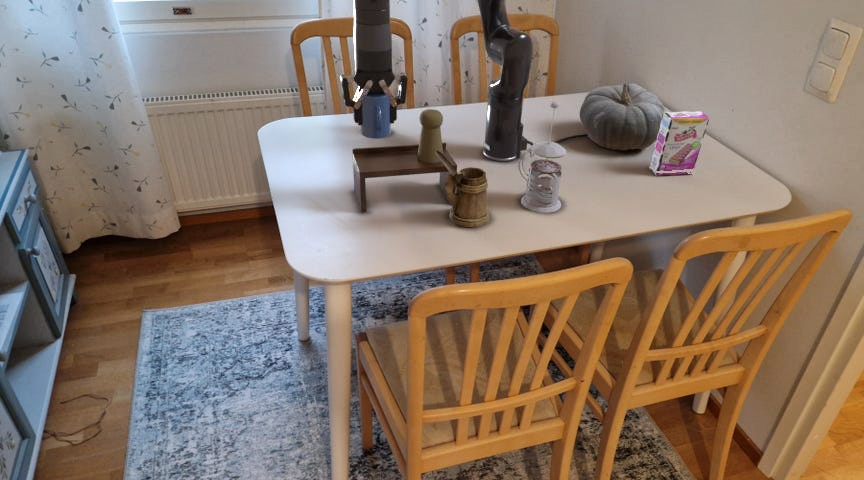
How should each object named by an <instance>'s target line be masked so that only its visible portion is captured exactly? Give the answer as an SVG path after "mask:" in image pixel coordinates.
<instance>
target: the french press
mask: <svg viewBox="0 0 864 480" xmlns="http://www.w3.org/2000/svg"><path fill="white" fill-rule="evenodd" d="M559 105H560V103H559V102H558V101H551V102H550V105H549V107H550V108H552V117H551V125H550V132H549V140H547V141H545V140H542V141H539V142H536V143H533V145H532V146H531V145H530V149H528V150H526V151H525V152H523V153H522V154H521V155H520V158H518V159H519V160H518V171H519V173H520V175H521V177H522V178H523V179H524V180H525V181H526V187H525V195H523V196H522V197H521V199H520V203H521V205H522V206H523V207H524V208H525V209H528V210H529V211H532V212H536V213H544V214H545V213H546V214H547V213H548V214H549V213H553V212H556V211H558V210H560V209H561V208H562V202H561V201H560V199H559V193H560V187H561V181H562V171H561V170H562V165H561V164H560V163H558V162H556V161H554V159H561V158H562V157H564V156H565V155H566V153H567V150H566V149H565V147H563V145H561V144H559V143H555V142H554V141H551V137H552V130H553V124H554V117H555V116H554V115H555V110H556V109H558V108H559V107H560V106H559ZM527 153H530V156H529V157H530V158H533V157H534V156H535V155H536V156H538V157H541V158H540V159H535V160H533V161H531V163H530V168H529V169H528V173H527V172H526V171H525V168H524V159H525V156H526V155H527ZM532 153H533V154H532ZM542 158H544V159H542ZM545 158H546V159H545ZM550 159H551V160H550ZM521 166H522V171H523V172H524V174H525V175H526V176H527V178H526V177H525V176H524V174H523V173H522V171H521ZM542 175H548V176H542ZM539 176H540V177H539ZM549 176H550V177H549Z"/></svg>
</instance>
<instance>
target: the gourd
mask: <svg viewBox="0 0 864 480" xmlns="http://www.w3.org/2000/svg"><path fill="white" fill-rule="evenodd" d="M663 112H665V107H664V104H663V102H662V101H661V100H660V99H659V97H658V96H657V95H655V93H653V92H651V91H648V90H647V89H645V88H644V87H643V86H640V85H639V84H637V83H635V82H634V83H629V84H627V83H626V82H625V83H623V84H618V85H603V86H598V87H596V88H594V89H593V90H591V91H589V92H588V93H587V95H586V96H585V97H584V100H583V102H582V103H581V106H580V109H579V119H580V123H581V124H582V127H583V128H584V131H585V134H587V135H588V136H589V137H588V138H589V139H590V140H592V141H593V142H594V143H595V144H597V145H599V146H600V147H602V148H606V149H609V150H614V151H617V150H616V149H620V150H619V151H628V150H634V149H641V150H645V149H647V148H648V147H651V146H652V145H654V144H655V143H656V139H657V135H658V131H659V127H660V124H661V120H662V116H663ZM610 148H611V149H610ZM644 148H645V149H644ZM641 150H640V151H641ZM634 151H635V150H634Z"/></svg>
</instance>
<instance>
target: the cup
mask: <svg viewBox="0 0 864 480" xmlns="http://www.w3.org/2000/svg"><path fill="white" fill-rule="evenodd" d="M359 93H361V91H360V92H359ZM361 102H362V104H361V106H360V109H361V125H359V126H360V134H361V136H363V137H364V138H367V139H372V140H373V139H374V140H377V139H384V138H387V137H389V136H391V133H392V131H391V132H390V99H389V95H386V94H385V93H379V94H367V95H366V96H363V100H361Z"/></svg>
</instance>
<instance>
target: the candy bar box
mask: <svg viewBox="0 0 864 480" xmlns="http://www.w3.org/2000/svg"><path fill="white" fill-rule="evenodd" d="M709 121H710V117H709V115H708V116H707V115H706V114H705V113H704V112H702V111H700V110H699V111H697V110H695V111H664V112H663V116H662V120H661V124H660V127H659V131H658V135H657V139H656V141H655V142H654V147H653V151H652V155H651V158H650V163H649V167H648V169H649V170H650V171H651V172H652V174H654V175H655V176H656V177H658V176H659V177H661V176H663V177H665V176H685V175H686V176H688V175H690V174H688V173H687V172H676V173H656V172H655V171H654V170H653V169H652V168H651V167H650V165H651V166H652V167H653V168H654V169H655V170H656V171H672V170H684V169H693V168H694V169H695V167H696V164H697V161H698V158H699V157H698V156H699V154H700V151H701V147H702V144H703V141H704V138H705V134H706V132H707V128H708V125H709ZM690 173H691V172H690Z"/></svg>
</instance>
